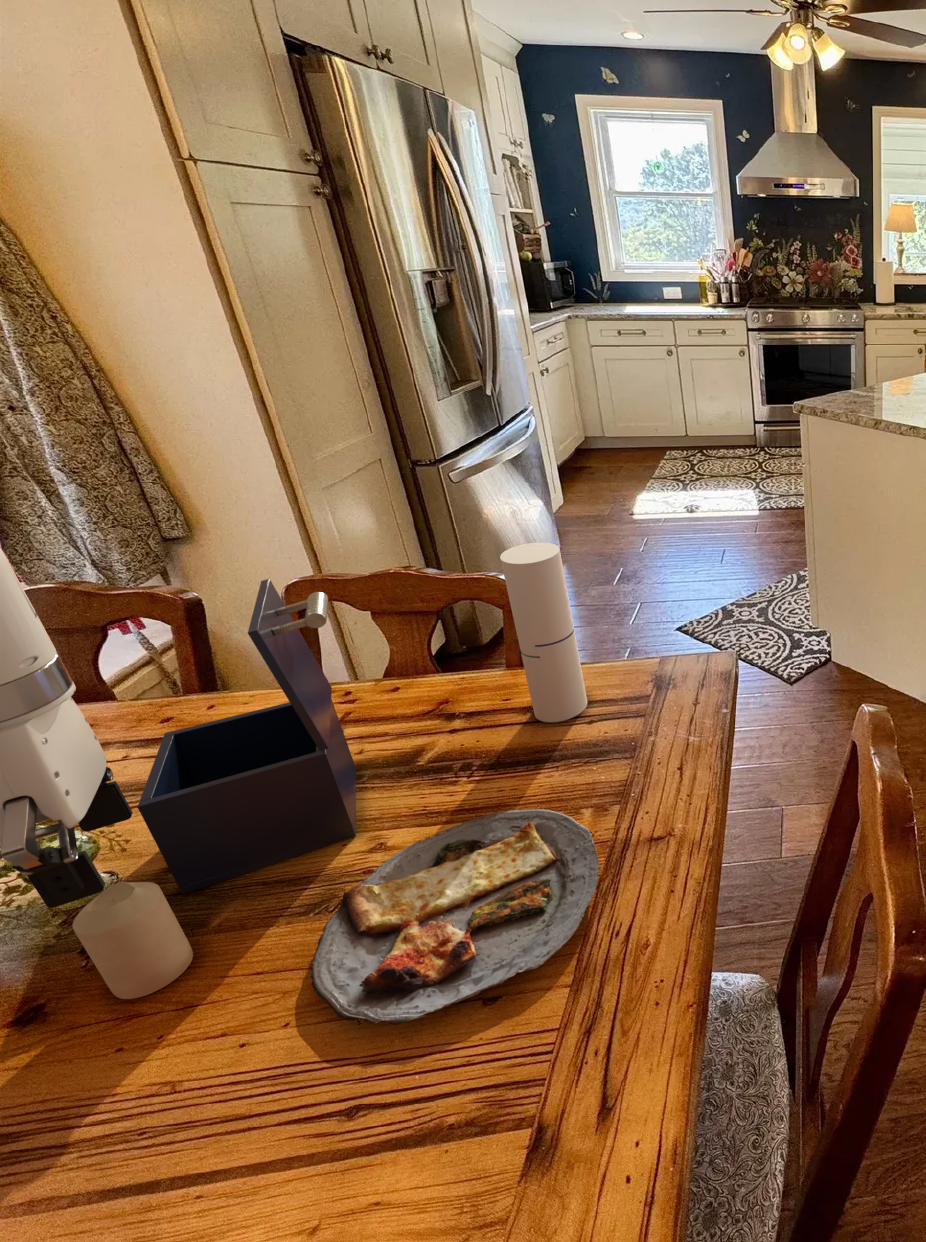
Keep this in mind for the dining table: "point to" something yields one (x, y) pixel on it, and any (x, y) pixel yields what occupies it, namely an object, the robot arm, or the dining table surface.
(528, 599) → the cylindrical container
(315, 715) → the lid
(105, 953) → the candle
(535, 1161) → the dining table surface
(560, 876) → the food plate
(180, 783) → the navy blue box
